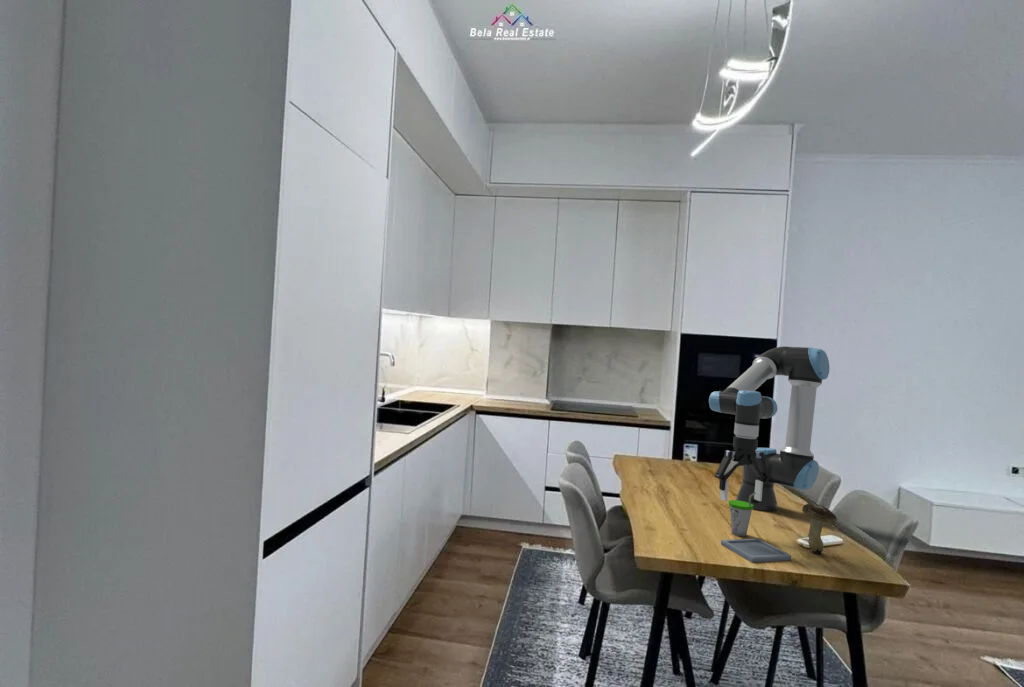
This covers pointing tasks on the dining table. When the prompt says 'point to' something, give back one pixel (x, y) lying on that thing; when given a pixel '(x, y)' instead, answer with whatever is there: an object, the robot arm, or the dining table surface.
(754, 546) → the tray
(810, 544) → the mushroom
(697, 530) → the dining table surface
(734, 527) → the cup
